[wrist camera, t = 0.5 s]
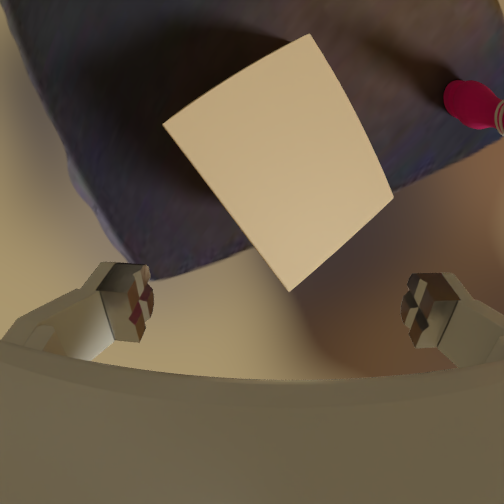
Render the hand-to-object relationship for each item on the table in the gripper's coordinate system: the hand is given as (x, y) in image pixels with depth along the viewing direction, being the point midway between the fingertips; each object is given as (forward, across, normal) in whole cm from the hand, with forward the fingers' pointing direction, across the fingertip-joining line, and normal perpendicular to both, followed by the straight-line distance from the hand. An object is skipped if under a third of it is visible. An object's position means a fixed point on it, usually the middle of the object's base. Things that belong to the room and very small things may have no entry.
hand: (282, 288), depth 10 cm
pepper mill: (+38, -29, -8) cm, 48 cm away
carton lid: (+22, -3, +1) cm, 22 cm away
